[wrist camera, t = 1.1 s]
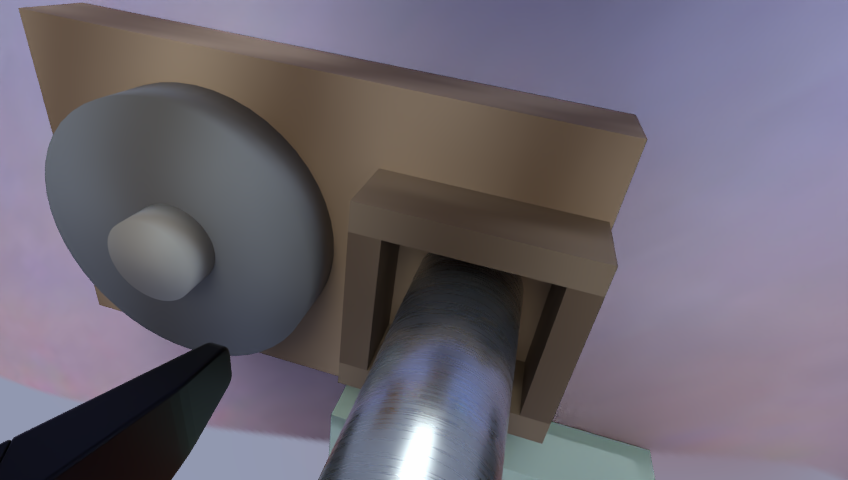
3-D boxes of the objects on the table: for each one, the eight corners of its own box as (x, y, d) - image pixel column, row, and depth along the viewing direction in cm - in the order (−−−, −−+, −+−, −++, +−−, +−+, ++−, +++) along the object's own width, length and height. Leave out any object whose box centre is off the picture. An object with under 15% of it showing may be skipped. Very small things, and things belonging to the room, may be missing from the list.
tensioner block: (635, 114, 12) (668, 184, 8) (533, 387, 17) (525, 506, 14) (82, 2, 14) (-91, 17, 10) (139, 275, 19) (37, 350, 16)
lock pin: (551, 249, 12) (534, 686, 5) (517, 351, 14) (467, 780, 7) (414, 215, 13) (210, 567, 5) (399, 319, 15) (232, 685, 7)
